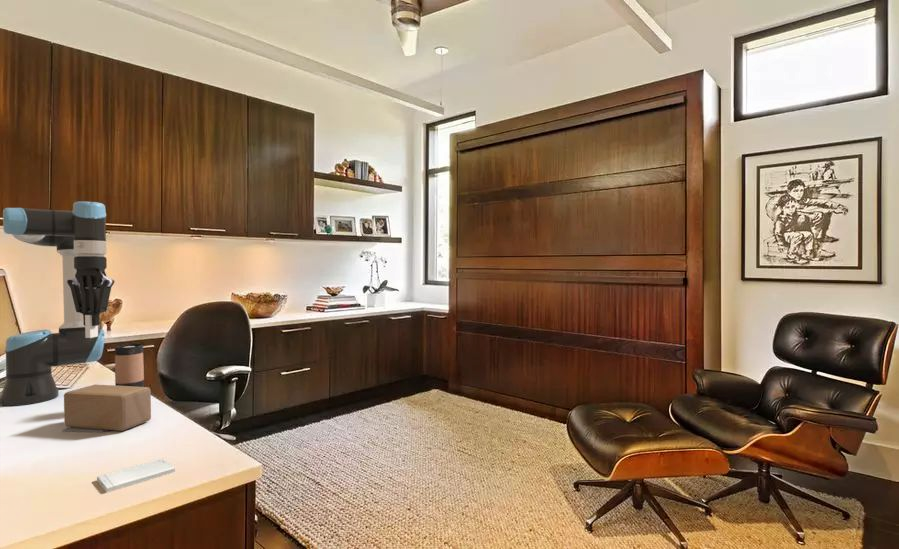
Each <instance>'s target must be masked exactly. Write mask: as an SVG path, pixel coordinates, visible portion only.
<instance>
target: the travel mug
mask: <svg viewBox="0 0 899 549" xmlns="http://www.w3.org/2000/svg"><path fill="white" fill-rule="evenodd" d="M144 369H145V368H144V344H143V343H142V344H141V343H129V344H121V345H117V346H116V347H114V376H115V377H114V378H115V379H114V381H115V382H114V383H115V386H134V387H145V386H144V385H145V374H144V372H145V371H144Z"/></svg>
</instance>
